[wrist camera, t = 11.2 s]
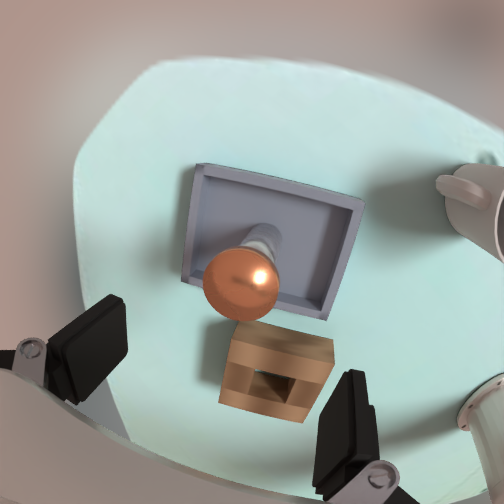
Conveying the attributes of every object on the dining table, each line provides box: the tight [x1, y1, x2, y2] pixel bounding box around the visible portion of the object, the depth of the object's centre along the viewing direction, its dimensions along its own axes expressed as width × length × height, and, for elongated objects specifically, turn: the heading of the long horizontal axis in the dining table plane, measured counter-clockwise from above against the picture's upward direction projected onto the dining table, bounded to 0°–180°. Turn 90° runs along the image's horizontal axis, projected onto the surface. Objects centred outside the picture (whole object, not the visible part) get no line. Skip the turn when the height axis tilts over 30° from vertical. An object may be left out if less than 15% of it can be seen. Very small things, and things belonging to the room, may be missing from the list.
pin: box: [203, 223, 282, 321], centre depth 21 cm, size 4×4×10 cm
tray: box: [181, 163, 365, 321], centre depth 25 cm, size 14×11×2 cm
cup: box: [435, 163, 504, 263], centre depth 17 cm, size 7×10×9 cm
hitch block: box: [218, 320, 335, 423], centre depth 29 cm, size 10×10×4 cm
